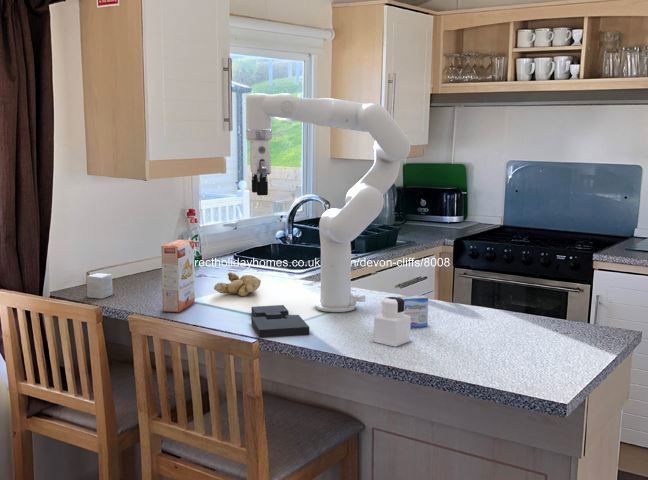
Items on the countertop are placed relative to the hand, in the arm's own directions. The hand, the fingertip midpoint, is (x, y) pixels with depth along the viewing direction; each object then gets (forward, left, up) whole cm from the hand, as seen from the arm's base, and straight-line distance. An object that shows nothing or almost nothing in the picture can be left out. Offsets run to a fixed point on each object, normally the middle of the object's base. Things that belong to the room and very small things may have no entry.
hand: (259, 193), depth 229 cm
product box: (+49, -34, -37) cm, 70 cm away
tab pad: (-2, +7, -37) cm, 37 cm away
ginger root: (+2, -28, -37) cm, 46 cm away
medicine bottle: (-29, +40, -37) cm, 62 cm away
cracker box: (+24, -12, -37) cm, 46 cm away
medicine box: (-40, +26, -37) cm, 60 cm away
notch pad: (-2, +21, -37) cm, 42 cm away
